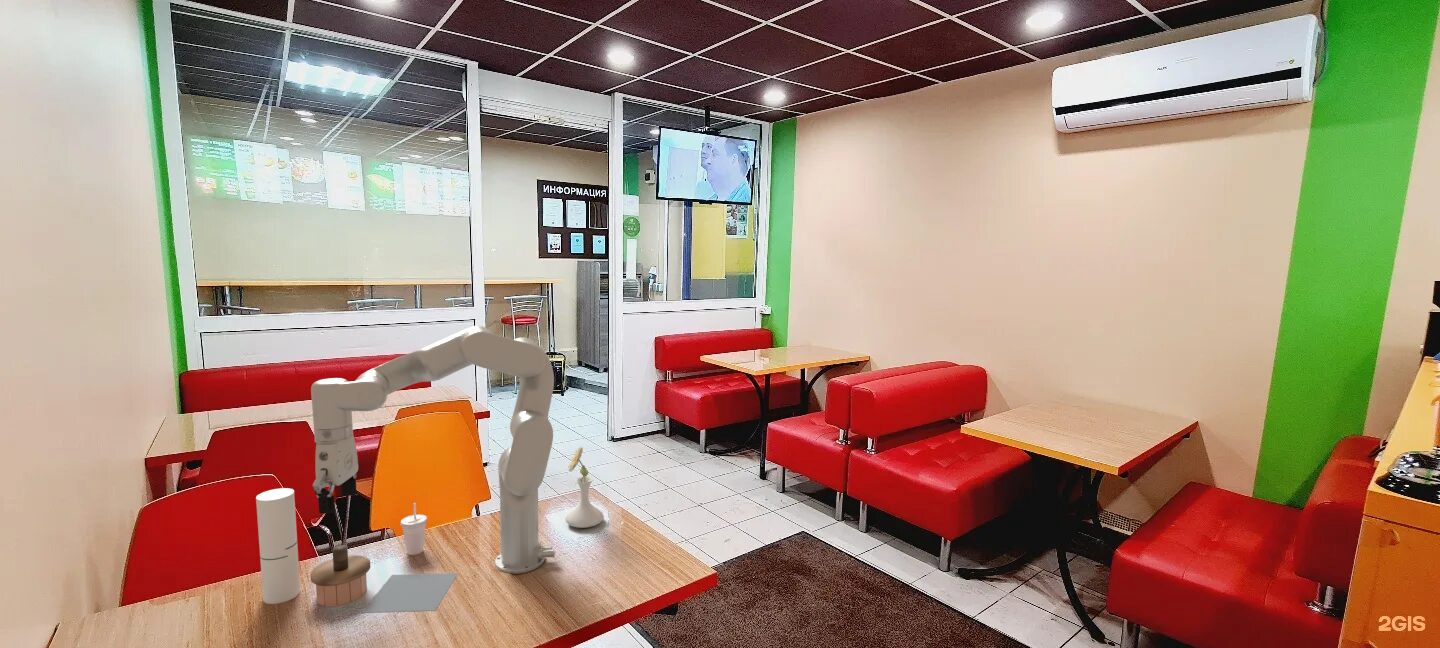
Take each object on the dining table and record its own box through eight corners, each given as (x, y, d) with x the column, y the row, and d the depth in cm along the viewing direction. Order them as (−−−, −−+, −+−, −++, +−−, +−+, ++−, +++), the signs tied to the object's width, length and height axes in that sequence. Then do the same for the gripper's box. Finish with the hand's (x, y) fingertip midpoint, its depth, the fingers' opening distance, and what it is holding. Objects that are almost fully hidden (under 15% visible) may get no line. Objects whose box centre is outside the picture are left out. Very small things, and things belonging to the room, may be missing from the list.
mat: (458, 575, 156) (458, 573, 156) (435, 612, 140) (435, 610, 140) (392, 577, 154) (392, 574, 154) (361, 615, 138) (361, 612, 138)
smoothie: (433, 548, 169) (431, 499, 167) (419, 560, 163) (417, 509, 161) (411, 546, 170) (409, 498, 168) (396, 558, 163) (394, 508, 162)
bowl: (374, 583, 151) (373, 560, 150) (354, 607, 141) (352, 583, 140) (331, 585, 150) (329, 561, 149) (307, 608, 140) (306, 584, 139)
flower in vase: (572, 513, 193) (572, 436, 190) (608, 516, 192) (608, 439, 189) (557, 532, 180) (557, 450, 177) (595, 535, 179) (595, 453, 176)
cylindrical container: (307, 590, 147) (301, 490, 144) (277, 606, 141) (270, 502, 138) (286, 584, 150) (279, 486, 146) (255, 600, 143) (248, 497, 140)
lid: (379, 558, 151) (378, 535, 151) (355, 585, 140) (354, 560, 139) (327, 559, 150) (326, 536, 149) (299, 586, 138) (298, 561, 138)
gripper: (331, 444, 132) (336, 520, 135) (368, 421, 149) (372, 488, 152) (294, 445, 132) (300, 520, 134) (336, 421, 149) (340, 489, 151)
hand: (338, 503), depth 143 cm, fingers open, 9 cm apart
